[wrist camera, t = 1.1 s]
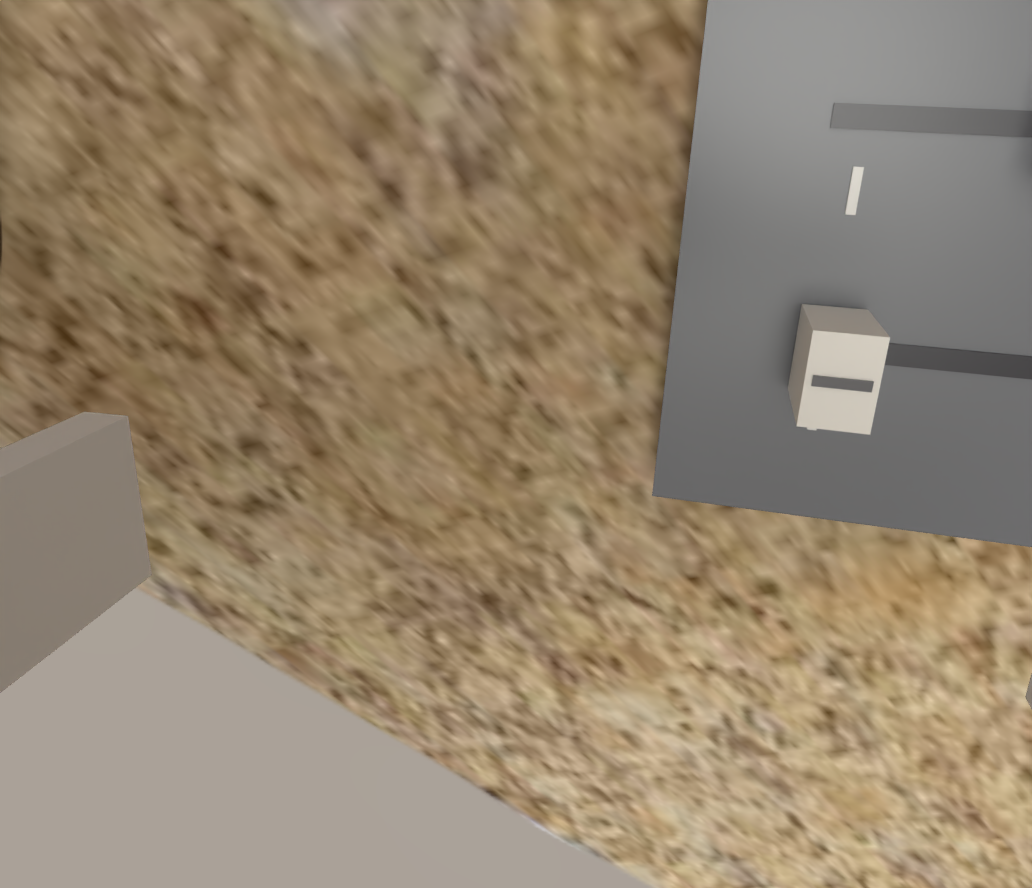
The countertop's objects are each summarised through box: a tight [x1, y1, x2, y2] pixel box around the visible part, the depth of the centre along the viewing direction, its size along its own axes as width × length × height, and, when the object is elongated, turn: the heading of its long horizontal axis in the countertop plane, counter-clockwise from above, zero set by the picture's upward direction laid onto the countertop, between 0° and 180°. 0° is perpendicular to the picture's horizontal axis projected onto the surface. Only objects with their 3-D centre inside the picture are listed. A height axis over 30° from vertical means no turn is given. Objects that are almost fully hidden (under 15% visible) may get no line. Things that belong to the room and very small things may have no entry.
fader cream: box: [788, 304, 890, 435], centre depth 25 cm, size 2×3×4 cm
